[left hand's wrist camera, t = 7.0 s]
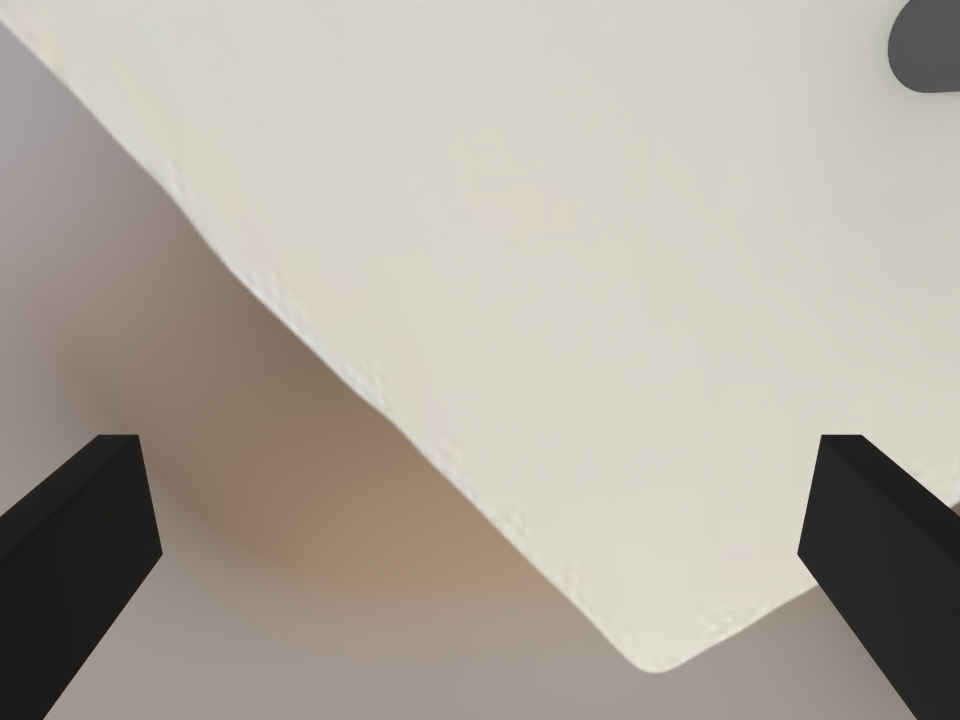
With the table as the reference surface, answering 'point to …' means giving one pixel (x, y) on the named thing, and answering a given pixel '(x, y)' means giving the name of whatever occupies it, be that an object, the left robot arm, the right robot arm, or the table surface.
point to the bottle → (927, 46)
